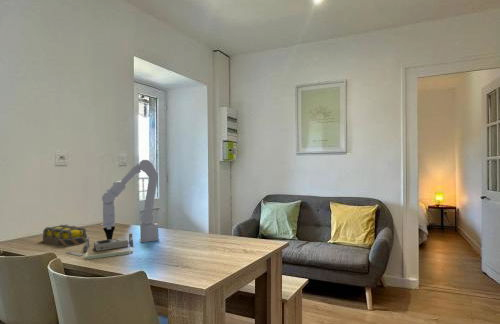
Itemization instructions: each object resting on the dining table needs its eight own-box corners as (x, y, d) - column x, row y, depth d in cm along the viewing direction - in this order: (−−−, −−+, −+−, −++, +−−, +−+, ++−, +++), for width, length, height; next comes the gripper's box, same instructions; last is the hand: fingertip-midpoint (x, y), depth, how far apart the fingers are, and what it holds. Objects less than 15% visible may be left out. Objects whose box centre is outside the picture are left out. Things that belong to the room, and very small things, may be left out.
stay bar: (69, 253, 154) (69, 251, 154) (83, 256, 147) (83, 254, 147) (66, 254, 152) (66, 251, 152) (79, 257, 146) (79, 255, 146)
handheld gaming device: (128, 247, 161) (127, 239, 161) (96, 252, 153) (95, 244, 154) (124, 244, 169) (124, 237, 169) (93, 248, 161) (93, 241, 161)
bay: (131, 249, 156) (131, 246, 156) (132, 253, 148) (132, 250, 148) (85, 254, 148) (85, 251, 148) (84, 259, 140) (84, 256, 140)
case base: (132, 241, 174) (132, 232, 174) (133, 246, 162) (133, 237, 162) (85, 246, 165) (85, 237, 165) (83, 252, 153) (83, 242, 153)
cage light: (64, 223, 194) (92, 227, 177) (64, 236, 194) (92, 241, 177) (37, 227, 181) (65, 232, 165) (37, 241, 181) (65, 247, 165)
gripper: (101, 214, 174) (101, 239, 173) (100, 217, 160) (100, 244, 160) (115, 212, 176) (115, 237, 176) (115, 216, 163) (115, 242, 163)
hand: (109, 240), depth 168 cm, fingers closed
